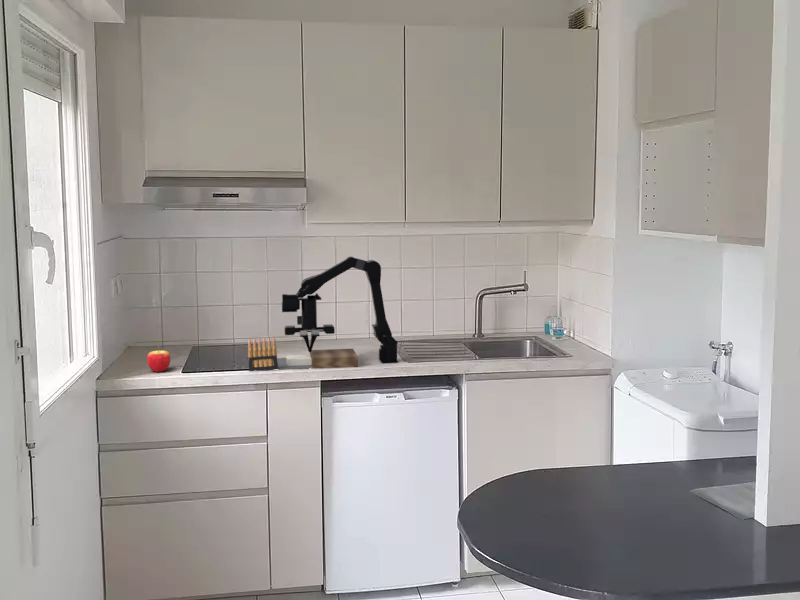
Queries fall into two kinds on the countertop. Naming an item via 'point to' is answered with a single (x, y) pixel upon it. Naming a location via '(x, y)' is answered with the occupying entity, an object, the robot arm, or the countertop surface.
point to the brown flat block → (334, 358)
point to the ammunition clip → (262, 355)
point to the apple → (158, 360)
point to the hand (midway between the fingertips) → (309, 352)
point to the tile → (298, 360)
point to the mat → (283, 365)
